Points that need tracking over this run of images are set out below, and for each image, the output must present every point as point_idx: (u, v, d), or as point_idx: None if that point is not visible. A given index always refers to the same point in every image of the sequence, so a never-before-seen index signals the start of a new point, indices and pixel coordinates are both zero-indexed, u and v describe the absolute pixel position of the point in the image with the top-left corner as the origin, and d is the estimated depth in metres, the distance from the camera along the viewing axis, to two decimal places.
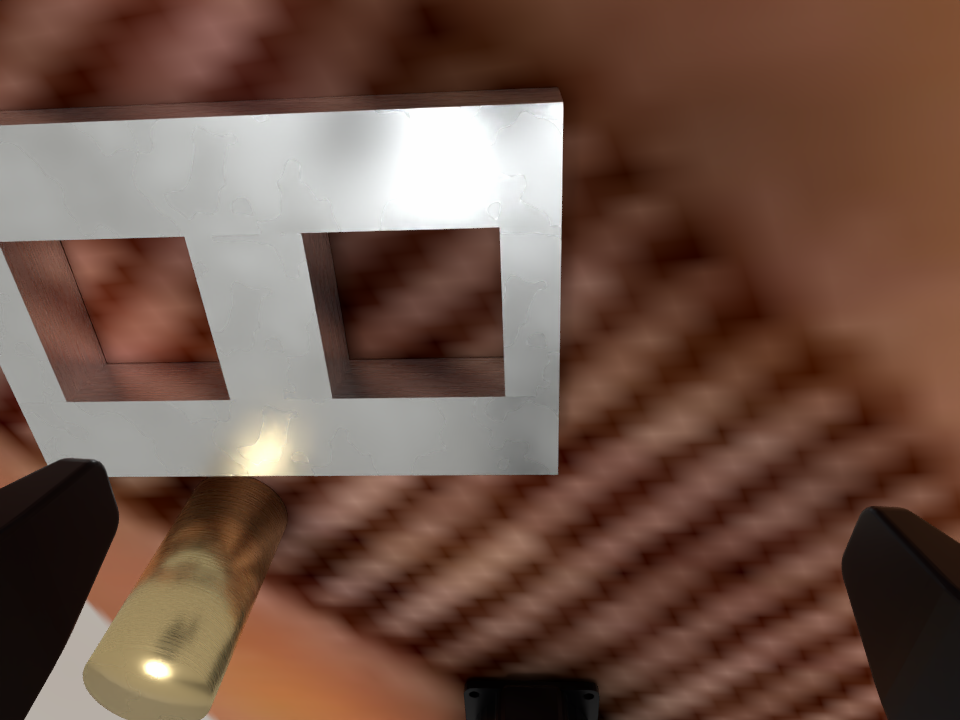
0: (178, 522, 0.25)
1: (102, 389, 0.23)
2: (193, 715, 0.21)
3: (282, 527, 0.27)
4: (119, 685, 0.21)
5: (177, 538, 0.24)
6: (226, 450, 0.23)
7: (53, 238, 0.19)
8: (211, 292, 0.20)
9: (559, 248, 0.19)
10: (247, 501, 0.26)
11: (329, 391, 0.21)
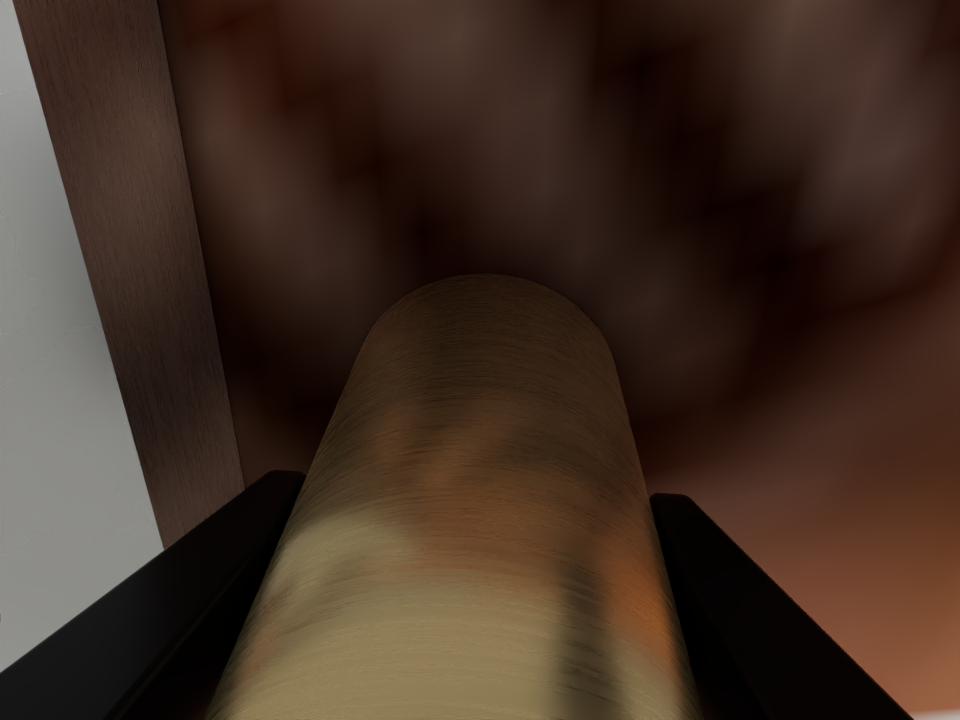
0: None
1: None
2: None
3: (510, 296, 0.09)
4: None
5: None
6: (11, 365, 0.07)
7: None
8: None
9: None
10: (357, 364, 0.09)
11: None
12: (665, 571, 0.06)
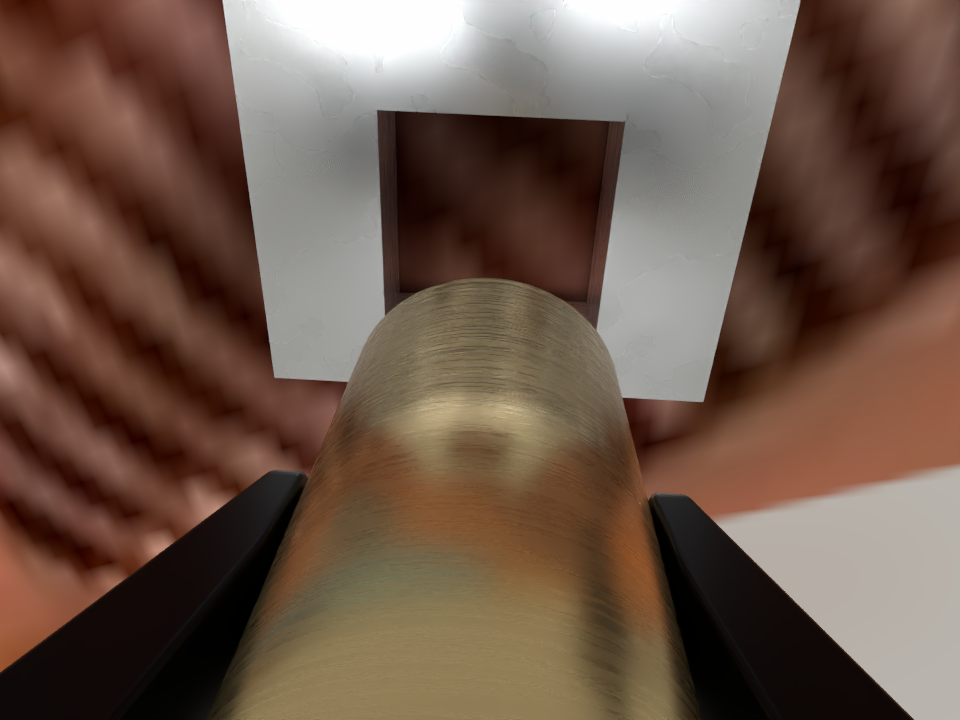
0: None
1: (595, 301, 0.18)
2: None
3: (510, 300, 0.09)
4: None
5: None
6: (712, 154, 0.15)
7: (381, 270, 0.17)
8: (454, 97, 0.15)
9: None
10: (357, 370, 0.09)
11: None
12: (665, 577, 0.06)
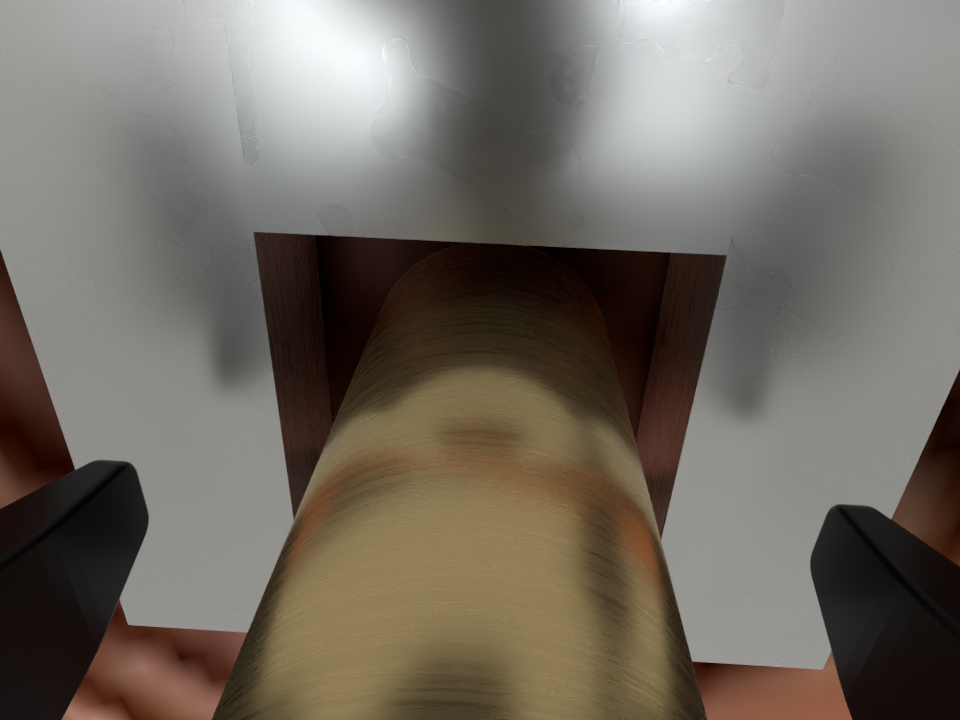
0: None
1: None
2: None
3: (513, 258, 0.10)
4: None
5: None
6: (887, 312, 0.08)
7: (285, 484, 0.10)
8: (399, 210, 0.08)
9: None
10: (381, 317, 0.10)
11: None
12: (641, 471, 0.07)
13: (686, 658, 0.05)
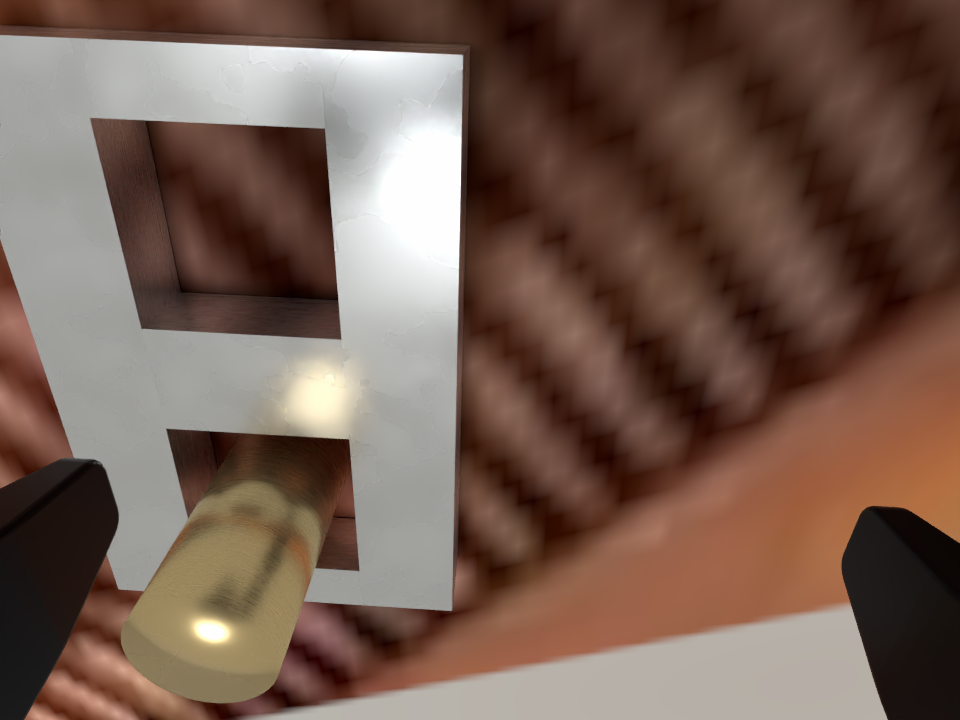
0: None
1: None
2: (246, 628, 0.16)
3: None
4: (198, 675, 0.17)
5: None
6: (417, 459, 0.20)
7: None
8: (221, 422, 0.20)
9: (101, 41, 0.15)
10: (230, 449, 0.22)
11: (332, 340, 0.18)
12: (309, 524, 0.20)
13: (280, 586, 0.17)
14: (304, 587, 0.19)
